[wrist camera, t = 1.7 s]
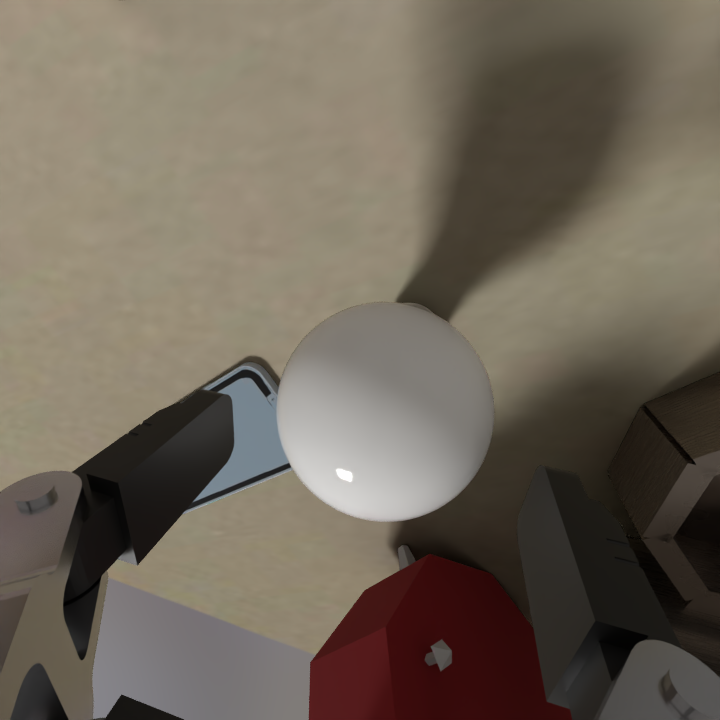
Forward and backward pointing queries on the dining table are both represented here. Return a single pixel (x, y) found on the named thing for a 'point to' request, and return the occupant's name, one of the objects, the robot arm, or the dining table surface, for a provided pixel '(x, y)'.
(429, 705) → the alarm clock
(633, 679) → the robot arm
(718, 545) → the bracket
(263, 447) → the smartphone
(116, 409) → the dining table surface
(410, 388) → the lightbulb
